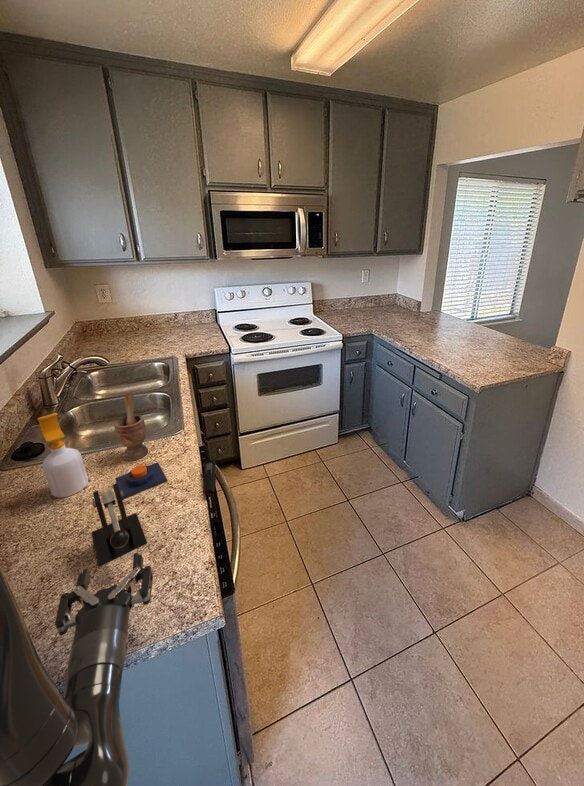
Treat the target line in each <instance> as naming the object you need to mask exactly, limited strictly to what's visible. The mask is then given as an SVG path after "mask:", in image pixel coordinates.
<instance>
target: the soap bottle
mask: <svg viewBox="0 0 584 786" xmlns="http://www.w3.org/2000/svg"><path fill="white" fill-rule="evenodd" d="M57 415H59V414H58V412H53V413H50V414H46V415H43V416H41V417H38V418H37V421H38V424H39V428H40V430H41V433H42V436H43V438H44V440H45V442H47V443H52V444H50V445H49V449H50V452H51V453H49V454H48V455H47V456H46V457H45V458H44V459H43V461H42V464H41V467H42V470H43V473H44V477H45V479H46V482H47V484H48V487H49V490H50V493H51V495H52V496H53V497H55V498H66V497H71V496H73V495H75V494H77V493H79V492H81V491H83V489H85V488H86V486H87V485H88V483H89V478H88V474H87V471H86V467H85V464H84V460H83V457H82V454H81V452H80V451H79V450H78V449H76V448H73V447H66V444H65V442H64V440H63V441H62V439H63V438H65V434H64V432H63V431H62V429H61V426H60V424H59V421H58V417H57Z"/></svg>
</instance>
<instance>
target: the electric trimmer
mask: <svg viewBox="0 0 584 786" xmlns="http://www.w3.org/2000/svg"><path fill="white" fill-rule="evenodd" d="M216 465H217V463H216V460H215V459H212V458H209V459H206V460H205V462H204V464H203V471H204V472H203V473H204V474H203V489H204V490H203V491H204V494H205V495H211V494H214V493H215V489H216V485H217V477H216Z"/></svg>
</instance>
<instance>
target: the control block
mask: <svg viewBox="0 0 584 786" xmlns="http://www.w3.org/2000/svg"><path fill="white" fill-rule="evenodd" d="M145 466H146V468H147V474H146V475H145V476H143V477H141V478H136V479H135V478H133V477H132V473H131V471H132V469H131V470H130V471H128V473H125V474H122V475H120V476H117V477H115V478H114V479H115V484H116V483H117V484H118V487H119V490H120V491H121V490H122V492H123V495H124V496H123V497H122V500H123V501H124V500H125V499H127V498H130V497H132V496H135V495H138V494H140V493H143V492H145V491H147V490H150V489H152V488H155V487H157V486H159V485H162V484H164V483H167V482H168V479H167V476H166V475H165V473H164V470H163V469H162V467H161V465H160V464H159V462H155V463H151V464H149V465H145Z"/></svg>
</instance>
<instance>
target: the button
mask: <svg viewBox="0 0 584 786" xmlns="http://www.w3.org/2000/svg"><path fill="white" fill-rule="evenodd" d="M146 466H147V465H144V464H140V465H137V466H135V467H133V468H132V469H131V470H132V471H131V470H130V471H131V473H132V477H133V478H135V479H136V478H141V477H143V476H145V475H146V474H147V468H146Z"/></svg>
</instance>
